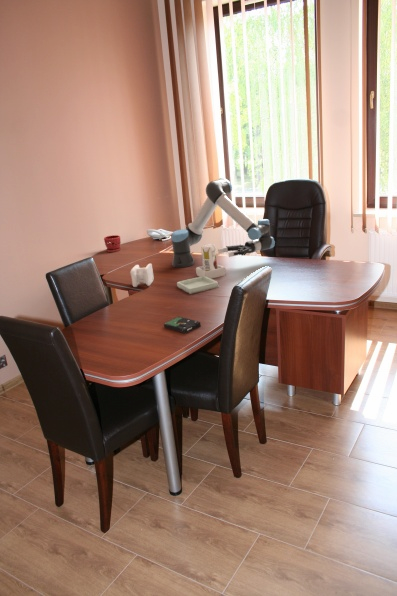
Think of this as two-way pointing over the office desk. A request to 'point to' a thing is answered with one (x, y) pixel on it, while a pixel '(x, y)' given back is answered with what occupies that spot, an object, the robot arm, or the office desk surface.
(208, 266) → the juice carton
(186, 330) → the disk drive
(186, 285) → the tray
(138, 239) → the office desk surface
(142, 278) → the cable organizer
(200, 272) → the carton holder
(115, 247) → the plant pot
